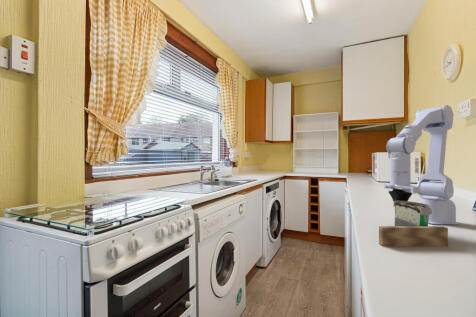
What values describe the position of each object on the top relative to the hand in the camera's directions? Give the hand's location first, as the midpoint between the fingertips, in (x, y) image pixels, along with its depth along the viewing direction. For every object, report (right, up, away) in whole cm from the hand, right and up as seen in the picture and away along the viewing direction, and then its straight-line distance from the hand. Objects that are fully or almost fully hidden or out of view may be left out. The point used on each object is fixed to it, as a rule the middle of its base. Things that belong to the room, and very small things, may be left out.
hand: (400, 211), depth 79 cm
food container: (0, -6, -7) cm, 9 cm away
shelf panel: (-7, -6, -15) cm, 18 cm away
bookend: (-7, -6, -9) cm, 13 cm away
